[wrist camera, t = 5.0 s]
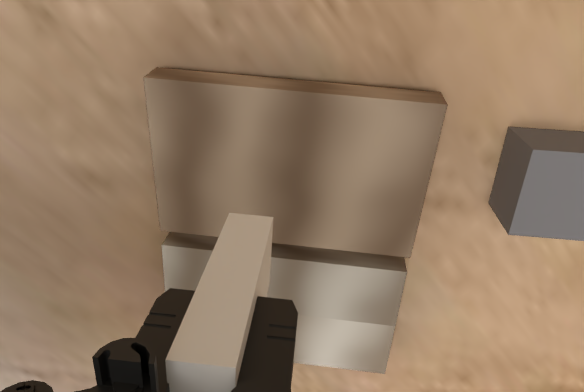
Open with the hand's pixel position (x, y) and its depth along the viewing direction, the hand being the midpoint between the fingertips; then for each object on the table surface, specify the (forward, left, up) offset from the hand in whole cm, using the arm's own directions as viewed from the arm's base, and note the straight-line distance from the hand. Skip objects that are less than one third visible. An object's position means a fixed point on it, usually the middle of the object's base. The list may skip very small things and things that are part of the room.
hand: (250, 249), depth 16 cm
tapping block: (+15, -1, -14) cm, 20 cm away
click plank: (0, -2, -13) cm, 13 cm away
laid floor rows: (0, -13, -13) cm, 18 cm away
